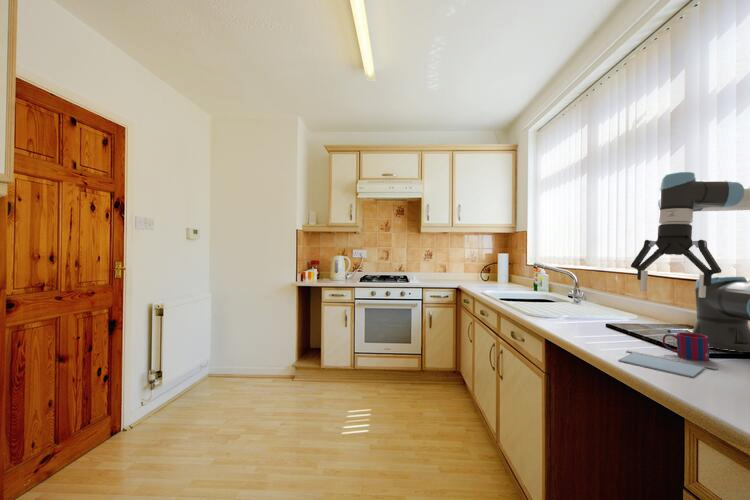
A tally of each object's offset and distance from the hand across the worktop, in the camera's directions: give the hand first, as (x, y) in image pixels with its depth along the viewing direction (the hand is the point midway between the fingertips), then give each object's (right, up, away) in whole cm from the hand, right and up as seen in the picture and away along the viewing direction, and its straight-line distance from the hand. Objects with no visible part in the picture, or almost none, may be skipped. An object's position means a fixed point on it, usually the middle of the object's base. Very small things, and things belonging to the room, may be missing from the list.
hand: (670, 294), depth 97 cm
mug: (+5, -19, 0) cm, 20 cm away
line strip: (-3, -19, -2) cm, 20 cm away
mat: (-9, -19, -6) cm, 22 cm away
